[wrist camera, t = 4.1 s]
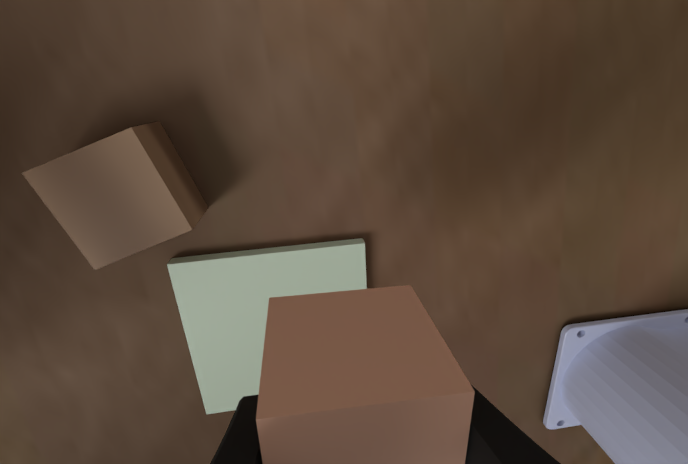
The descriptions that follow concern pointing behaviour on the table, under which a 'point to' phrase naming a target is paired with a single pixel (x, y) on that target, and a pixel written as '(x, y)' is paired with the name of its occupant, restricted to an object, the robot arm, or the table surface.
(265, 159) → the table surface
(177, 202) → the walnut brick
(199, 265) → the base tile
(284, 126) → the table surface
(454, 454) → the terracotta brick
